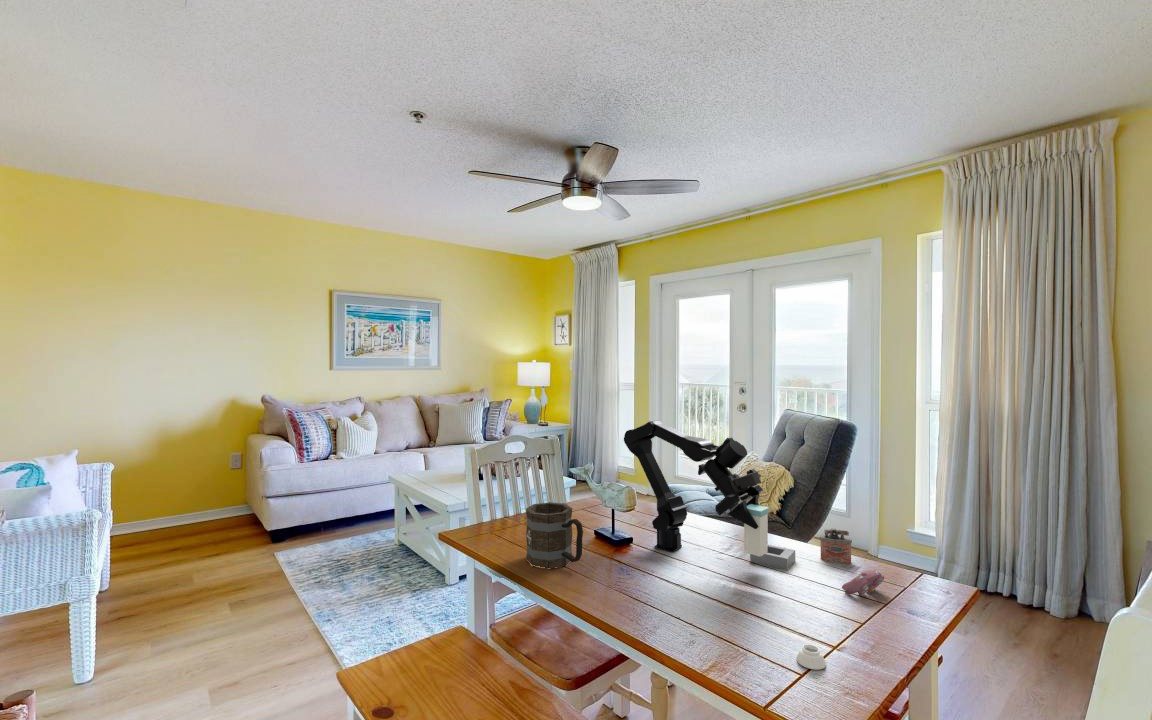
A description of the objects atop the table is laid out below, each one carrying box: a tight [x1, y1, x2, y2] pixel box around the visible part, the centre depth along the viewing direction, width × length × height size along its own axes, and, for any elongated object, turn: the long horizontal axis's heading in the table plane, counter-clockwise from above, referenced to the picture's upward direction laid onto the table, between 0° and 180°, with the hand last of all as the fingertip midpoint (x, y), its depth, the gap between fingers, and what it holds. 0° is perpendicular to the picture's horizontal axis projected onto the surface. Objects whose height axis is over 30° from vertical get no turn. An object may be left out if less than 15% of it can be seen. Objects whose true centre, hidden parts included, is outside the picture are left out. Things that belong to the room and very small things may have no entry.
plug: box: [743, 504, 770, 557], centre depth 140 cm, size 5×5×12 cm
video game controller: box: [841, 569, 885, 596], centre depth 128 cm, size 10×5×7 cm, turn 118°
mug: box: [525, 501, 584, 569], centre depth 149 cm, size 20×14×15 cm
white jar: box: [795, 643, 827, 671], centre depth 99 cm, size 5×3×5 cm
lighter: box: [819, 527, 853, 565], centre depth 147 cm, size 8×3×10 cm, turn 68°
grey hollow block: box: [749, 544, 796, 571], centre depth 146 cm, size 10×8×4 cm
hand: (760, 525), depth 139 cm, fingers closed on plug, 5 cm apart
